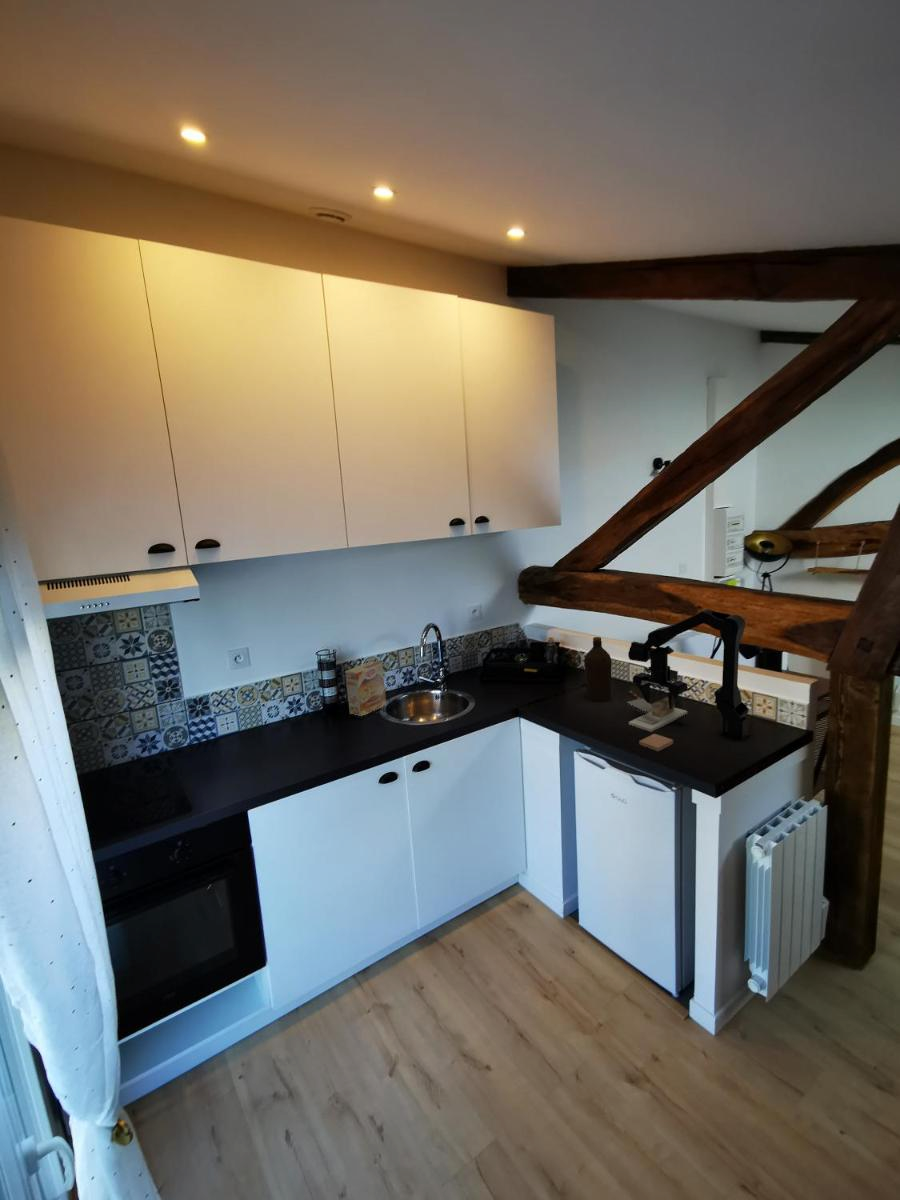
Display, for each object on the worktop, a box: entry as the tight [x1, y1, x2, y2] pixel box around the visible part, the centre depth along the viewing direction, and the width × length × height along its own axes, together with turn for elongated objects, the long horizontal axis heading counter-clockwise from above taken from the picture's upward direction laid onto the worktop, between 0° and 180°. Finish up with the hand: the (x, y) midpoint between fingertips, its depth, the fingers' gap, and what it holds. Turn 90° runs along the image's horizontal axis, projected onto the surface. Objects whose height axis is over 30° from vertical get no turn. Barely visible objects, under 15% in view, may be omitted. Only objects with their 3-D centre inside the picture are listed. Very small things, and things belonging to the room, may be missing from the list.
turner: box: [637, 696, 675, 725], centre depth 200 cm, size 16×6×5 cm, turn 126°
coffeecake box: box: [344, 661, 387, 716], centre depth 229 cm, size 15×7×20 cm, turn 143°
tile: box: [638, 733, 674, 752], centre depth 182 cm, size 7×2×8 cm
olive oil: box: [583, 636, 613, 703], centre depth 223 cm, size 11×11×25 cm
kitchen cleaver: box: [626, 690, 652, 713], centre depth 217 cm, size 24×1×10 cm
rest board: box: [628, 707, 688, 733], centre depth 201 cm, size 9×22×1 cm, turn 126°
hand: (659, 705), depth 201 cm, fingers open, 9 cm apart
